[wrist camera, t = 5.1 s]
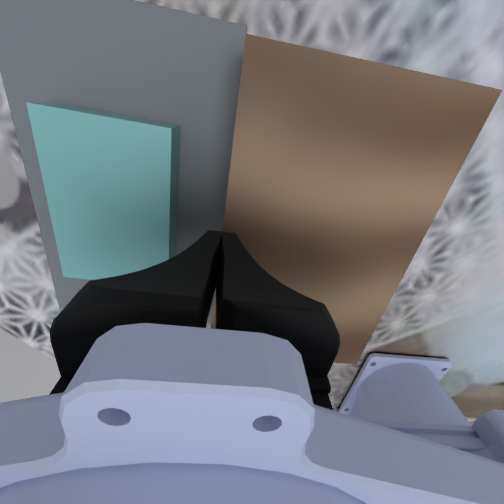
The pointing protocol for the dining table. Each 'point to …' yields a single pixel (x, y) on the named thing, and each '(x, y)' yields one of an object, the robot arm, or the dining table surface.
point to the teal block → (107, 188)
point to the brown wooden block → (343, 173)
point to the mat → (128, 93)
